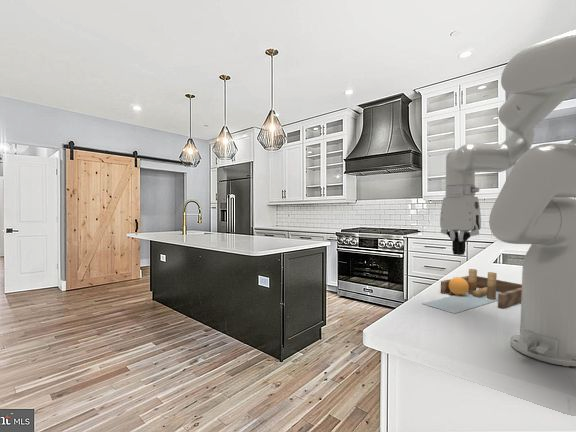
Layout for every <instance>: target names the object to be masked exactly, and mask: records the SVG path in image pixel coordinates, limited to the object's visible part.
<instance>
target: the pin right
mask: <svg viewBox="0 0 576 432" xmlns="http://www.w3.org/2000/svg"><path fill="white" fill-rule="evenodd" d="M497 275H498V273H497V272H491V271H490V272H489V271H488V272H487V278H488V280H487V298H488V299H493V300H494V299H496V280H497Z"/></svg>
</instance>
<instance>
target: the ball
mask: <svg viewBox="0 0 576 432" xmlns="http://www.w3.org/2000/svg"><path fill="white" fill-rule="evenodd" d="M449 280H450V279H449ZM449 289H450V291H451V292H450V293H452V294H453V295H464V294H466V293H467V292H468V289H469V285H468V283H467V281H466V280H465V279H463V278H460V276H459V277H458V276H456V277H455V276H454V277H453V278H451V280H450V282H449Z"/></svg>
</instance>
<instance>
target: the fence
mask: <svg viewBox="0 0 576 432" xmlns="http://www.w3.org/2000/svg"><path fill="white" fill-rule="evenodd" d="M459 277H460V276H459ZM460 278H463V279H465V280H466V281H467V283H468V280H469V275H465V276H461V277H460ZM451 279H452V278H451ZM451 279H445V280H441V281H440V293H441V294H444V295H445V293H446V294H450V293H452V292H451V291H450V289H449V282H450V280H451ZM487 280H488V277H484V276H480V275H479V276H478V275H477V286H476V289H482V288H485V287H487ZM496 291H497V292H502V293H500V294H498V301H497V308H501V309H506V308H510V307H512V306H516V305H518V304H521V295H522V283H515V282H510V281H505V280H499V279H496Z"/></svg>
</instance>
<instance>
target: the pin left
mask: <svg viewBox="0 0 576 432" xmlns="http://www.w3.org/2000/svg"><path fill="white" fill-rule="evenodd" d="M468 276H469V280H468V285H469V289H468V291H467V292H468V294H471V295H472V292H473V291H475V290H477V288H476V286H477V276H478V270H477V269H474V268H469V269H468Z"/></svg>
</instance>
